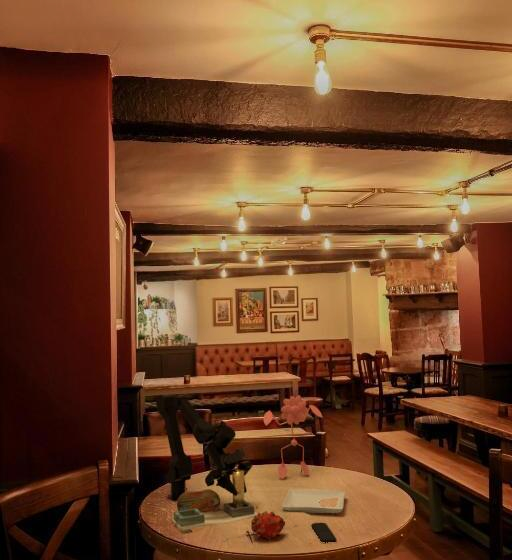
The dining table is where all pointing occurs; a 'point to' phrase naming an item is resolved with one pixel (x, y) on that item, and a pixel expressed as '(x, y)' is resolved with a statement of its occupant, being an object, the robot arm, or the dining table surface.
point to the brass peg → (238, 488)
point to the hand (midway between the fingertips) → (241, 493)
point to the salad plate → (313, 500)
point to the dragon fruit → (267, 525)
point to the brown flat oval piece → (199, 500)
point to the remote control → (323, 532)
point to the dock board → (211, 516)
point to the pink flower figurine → (295, 414)
